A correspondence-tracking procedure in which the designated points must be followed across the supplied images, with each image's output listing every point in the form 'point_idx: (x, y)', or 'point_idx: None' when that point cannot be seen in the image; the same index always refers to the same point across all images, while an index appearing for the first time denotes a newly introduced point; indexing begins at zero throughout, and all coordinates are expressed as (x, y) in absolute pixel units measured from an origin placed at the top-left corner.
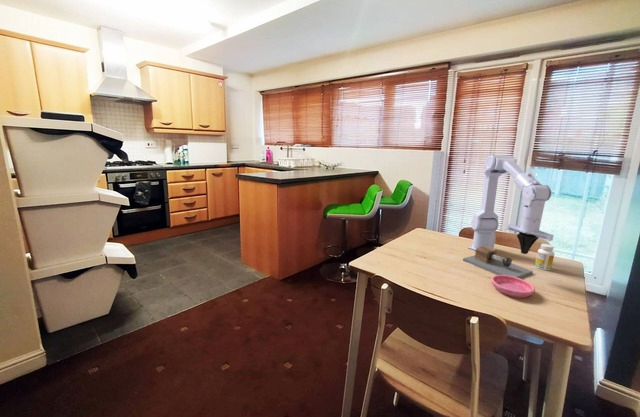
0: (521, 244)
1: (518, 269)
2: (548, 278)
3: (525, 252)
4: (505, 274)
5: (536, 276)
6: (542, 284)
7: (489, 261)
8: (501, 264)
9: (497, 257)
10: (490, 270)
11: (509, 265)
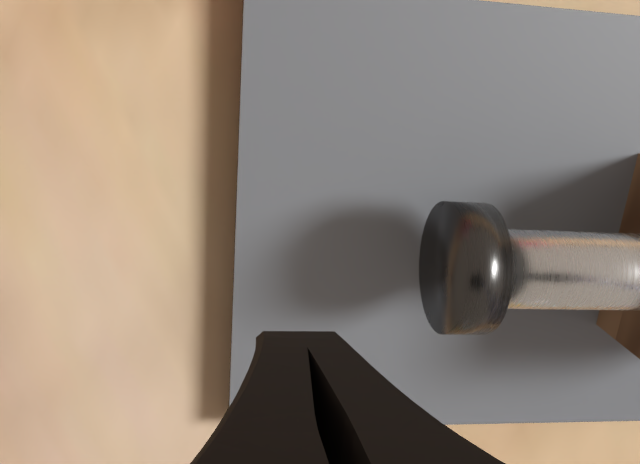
0: (403, 425)
1: (334, 329)
2: (80, 438)
3: (254, 355)
4: (352, 21)
5: (167, 377)
6: (16, 224)
7: (629, 226)
8: None
9: (601, 250)
10: (525, 7)
11: (421, 272)
